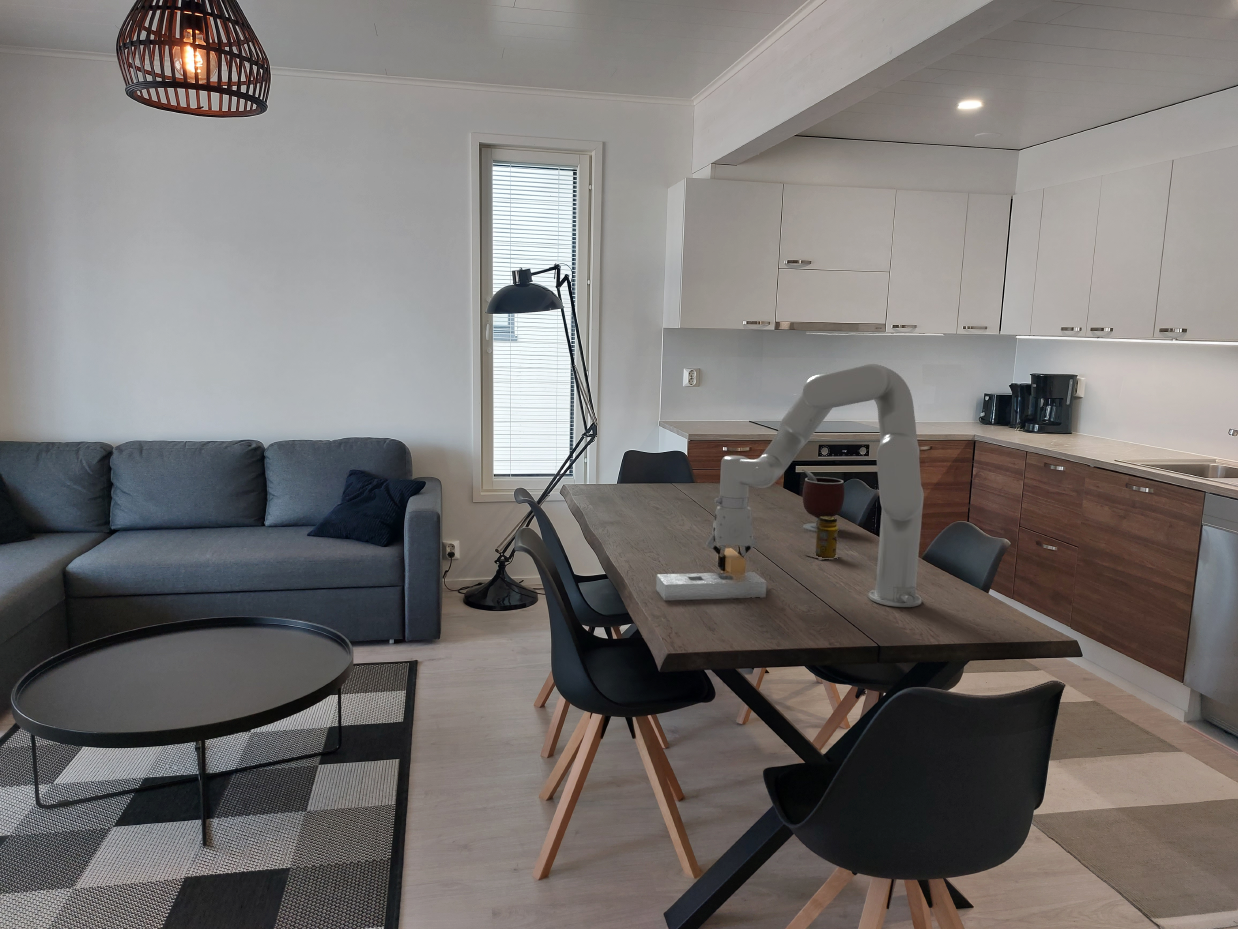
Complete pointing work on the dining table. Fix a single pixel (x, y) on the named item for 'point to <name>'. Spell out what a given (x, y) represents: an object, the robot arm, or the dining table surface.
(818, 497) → the mate gourd
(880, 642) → the dining table surface
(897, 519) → the robot arm
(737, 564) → the tan wooden block
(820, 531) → the condiment
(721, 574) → the white flat block
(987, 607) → the dining table surface
